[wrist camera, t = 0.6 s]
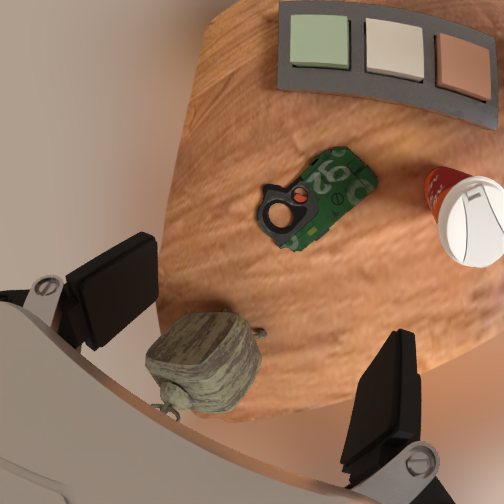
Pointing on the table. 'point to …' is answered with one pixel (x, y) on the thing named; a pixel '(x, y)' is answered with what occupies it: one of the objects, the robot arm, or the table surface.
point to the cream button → (395, 49)
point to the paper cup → (467, 215)
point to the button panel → (384, 86)
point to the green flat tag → (317, 197)
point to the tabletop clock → (205, 362)
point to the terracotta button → (462, 67)
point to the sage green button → (320, 41)
